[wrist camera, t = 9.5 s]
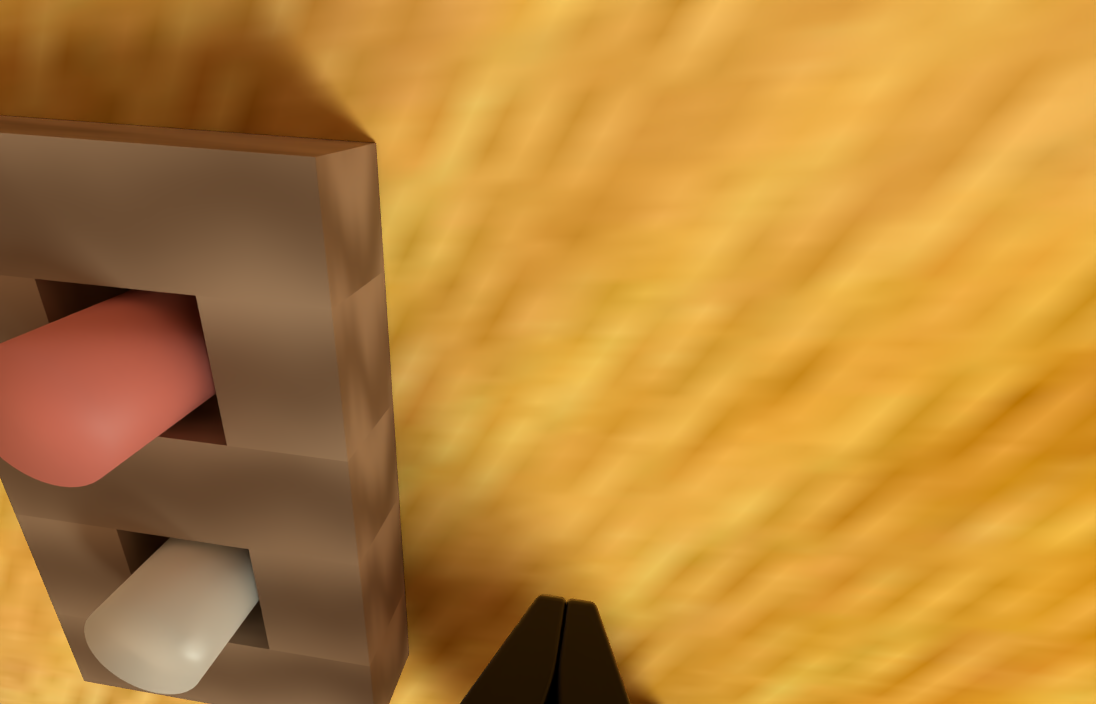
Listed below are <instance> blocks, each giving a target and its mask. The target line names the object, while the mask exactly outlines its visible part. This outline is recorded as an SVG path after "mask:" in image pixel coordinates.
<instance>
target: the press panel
mask: <svg viewBox="0 0 1096 704" xmlns="http://www.w3.org/2000/svg"><path fill="white" fill-rule="evenodd" d="M132 289H137V290H147V291H157V292H166V293H176V294H185V295H195V296H196V299H197V304H198V309H199V313H200V318H201V323H202V328H203V333H204V337H205V342H206V347H207V352H208V357H209V361H210V366H211V371H212V376H213V381H214V385H215V390H216V394H215V395H213V396H212V397H211V398H209V399H208V400H207V401H205V402H204V403H203V404H201V405H200V406H198V407H197V408H196V409H194V410H193V411H192V412H190V413H189V414H188V415H186V416H185V417H183V418H182V419H181V420H179V421H178V422H177V423H175V424H174V425H173V426H171V427H170V428H169V429H167V430H166V431H164V432H163V433H162V434H160V435H159V436H158V437H156V438H155V439H154V440H152V441H151V442H150V443H148V444H147V445H145V446H144V447H143V448H141V449H140V450H139V451H137V452H136V453H135V454H133V455H132V456H131V457H129V458H128V459H126V460H125V461H124V462H122V463H121V464H120V465H118V466H117V467H116V468H114V469H113V470H112V471H110V472H109V473H107V474H106V475H105V476H103V477H102V478H101V479H99V480H98V481H96V482H94V483H92V484H89V485H86V486H81V487H61V486H56V485H51V484H48V483H45V482H42V481H39V480H37V479H34V478H32V477H30V476H28V475H26V474H24V473H22V472H21V471H19V470H17V469H16V468H14V467H13V466H11V465H10V464H8V463H7V462H6V461H4V460H3V459H2V458H1V457H0V478H1V480H2V483H3V485H4V488H5V490H6V493H7V495H8V497H9V500H10V502H11V505H12V507H13V510H14V512H15V514H16V517H17V519H18V522H19V524H20V526H21V529H22V531H23V534H24V536H25V539H26V541H27V543H28V546H29V548H30V551H31V553H32V556H33V558H34V560H35V563H36V565H37V568H38V570H39V572H40V575H41V577H42V580H43V582H44V585H45V587H46V589H47V592H48V594H49V597H50V599H51V602H52V604H53V606H54V609H55V611H56V614H57V616H58V619H59V621H60V623H61V626H62V628H63V631H64V633H65V635H66V638H67V640H68V643H69V645H70V648H71V650H72V652H73V655H74V657H75V660H76V662H77V665H78V667H79V669H80V672H81V674H82V677H83V679H84V681H87V682H93V683H98V684H104V685H110V686H115V687H121V688H126V689H132V690H137V691H143V692H148V693H154V692H150V691H146V690H143V689H140V688H138V687H135V686H133V685H131V684H129V683H127V682H125V681H124V680H122V679H120V678H119V677H117V676H116V675H114V674H113V673H112V672H110V671H109V670H108V669H107V668H106V667H104V666H103V665H102V664H101V663H100V662H99V661H98V659H97V658H96V657H95V656H94V654H93V653H92V651H91V650H90V648H89V646H88V644H87V642H86V638H85V633H84V626H85V623H86V620H87V619H88V617H89V616H90V615H91V614H92V613H93V612H94V611H95V610H96V609H97V608H98V607H99V606H100V605H101V604H102V603H103V602H104V601H105V600H106V599H107V598H108V597H109V596H110V595H111V594H112V593H113V592H114V591H115V590H116V589H117V588H119V587H120V586H121V585H122V584H123V583H124V582H125V581H126V580H127V579H128V578H129V577H130V576H131V575H132V574H133V573H134V572H135V571H136V570H137V569H138V568H139V567H140V566H141V565H142V564H143V563H144V562H145V561H146V560H147V559H148V558H149V557H150V556H151V555H152V554H154V553H155V552H156V551H157V550H158V549H159V548H160V547H161V546H162V545H163V544H164V543H165V542H166V541H167V540H168V539H169V538H170V537H171V538H178V539H184V540H191V541H198V542H204V543H211V544H218V545H224V546H231V547H237V548H244V549H249V553H250V558H251V563H252V568H253V572H254V577H255V582H256V587H257V592H258V596H259V601H258V602H257V603H256V605H255V606H254V607H253V609H252V610H251V612H250V613H249V614H248V616H247V617H246V618H245V620H244V621H243V622H242V624H241V625H240V627H239V628H238V629H237V631H236V632H235V633H234V635H233V636H232V637H231V639H230V640H229V642H228V643H227V644H226V646H225V647H224V648H223V650H222V651H221V652H220V654H219V655H218V657H217V658H216V659H215V661H214V662H213V663H212V665H211V666H210V667H209V669H208V670H207V672H206V673H205V674H204V676H203V677H202V678H201V680H200V681H199V682H198V684H197V685H196V686H195V687H194V688H193V689H191V690H189V691H187V692H184V693H180V694H159V693H154V694H159V695H165V696H171V697H176V698H182V699H187V700H193V701H198V702H204V703H209V704H389V702H390V700H391V697H392V695H393V692H394V690H395V687H396V685H397V682H398V680H399V677H400V675H401V672H402V670H403V668H404V665H405V663H406V660H407V658H408V655H409V644H408V629H407V613H406V598H405V583H404V567H403V552H402V536H401V521H400V506H399V490H398V475H397V459H396V444H395V429H394V413H393V398H392V383H391V367H390V352H389V336H388V321H387V306H386V290H385V275H384V259H383V244H382V229H381V213H380V198H379V183H378V167H377V152H376V143H368V142H355V141H341V140H327V139H314V138H300V137H287V136H273V135H260V134H246V133H232V132H219V131H205V130H192V129H178V128H165V127H151V126H138V125H124V124H110V123H97V122H83V121H70V120H56V119H43V118H29V117H16V116H2V115H0V343H3V342H5V341H7V340H10V339H12V338H15V337H17V336H20V335H22V334H25V333H27V332H29V331H32V330H34V329H37V328H39V327H42V326H44V325H47V324H49V323H51V322H54V321H56V320H59V319H61V318H64V317H66V316H69V315H71V314H73V313H76V312H78V311H81V310H83V309H86V308H88V307H91V306H93V305H95V304H98V303H100V302H103V301H105V300H108V299H110V298H113V297H115V296H118V295H120V294H122V293H125V292H127V291H130V290H132Z"/></svg>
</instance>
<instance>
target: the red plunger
mask: <svg viewBox="0 0 1096 704" xmlns="http://www.w3.org/2000/svg"><path fill="white" fill-rule="evenodd" d="M215 394H216V390H215V385H214V381H213V376H212V371H211V366H210V361H209V357H208V352H207V347H206V342H205V337H204V333H203V328H202V323H201V318H200V313H199V309H198V304H197V299H196V296H195V295H185V294H176V293H166V292H157V291H147V290H137V289H132V290H130V291H127V292H125V293H122V294H120V295H118V296H115V297H113V298H110V299H108V300H105V301H103V302H100V303H98V304H95V305H93V306H91V307H88V308H86V309H83V310H81V311H78V312H76V313H73V314H71V315H69V316H66V317H64V318H61V319H59V320H56V321H54V322H51V323H49V324H47V325H44V326H42V327H39V328H37V329H34V330H32V331H29V332H27V333H25V334H22V335H20V336H17V337H15V338H12V339H10V340H7V341H5V342H3V343H0V457H1V458H2V459H3V460H4V461H6V462H7V463H8V464H10V465H11V466H13V467H14V468H16V469H17V470H19V471H21V472H22V473H24V474H26V475H28V476H30V477H32V478H34V479H37V480H39V481H42V482H45V483H48V484H51V485H56V486H61V487H81V486H86V485H89V484H92V483H94V482H96V481H98V480H99V479H101V478H102V477H103V476H105V475H106V474H107V473H109V472H110V471H112V470H113V469H114V468H116V467H117V466H118V465H120V464H121V463H122V462H124V461H125V460H126V459H128V458H129V457H131V456H132V455H133V454H135V453H136V452H137V451H139V450H140V449H141V448H143V447H144V446H145V445H147V444H148V443H150V442H151V441H152V440H154V439H155V438H156V437H158V436H159V435H160V434H162V433H163V432H164V431H166V430H167V429H169V428H170V427H171V426H173V425H174V424H175V423H177V422H178V421H179V420H181V419H182V418H183V417H185V416H186V415H188V414H189V413H190V412H192V411H193V410H194V409H196V408H197V407H198V406H200V405H201V404H203V403H204V402H205V401H207V400H208V399H209V398H211V397H212V396H213V395H215Z"/></svg>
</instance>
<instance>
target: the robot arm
mask: <svg viewBox="0 0 1096 704" xmlns="http://www.w3.org/2000/svg"><path fill="white" fill-rule="evenodd" d="M460 704H631V703H630V700H629V697H628V694H627V692H626V689H625V686H624V683H623V680H622V677H621V674H620V672H619V669H618V666H617V663H616V660H615V657H614V654H613V652H612V649H611V646H610V643H609V640H608V637H607V634H606V632H605V629H604V626H603V623H602V620H601V617H600V614H599V612H598V609H597V607H596V605H595V604H594V603H593V602H591V601H584V600H577V599H570V600H568V601H567V605H566V600H565V599H564V598H563V597H558V596H551V595H544V594H541V595H539V596H538V597H537V598H536V599H535V601H534V602H533V603H532V605H531V606H530V607H529V609H528V610H527V612H526V613H525V614H524V616H523V617H522V618H521V620H520V621H519V623H518V624H517V625H516V627H515V628H514V630H513V631H512V632H511V634H510V635H509V636H508V638H507V639H506V641H505V642H504V643H503V645H502V646H501V648H500V649H499V650H498V652H497V653H496V654H495V656H494V657H493V659H492V660H491V661H490V663H489V664H488V666H487V667H486V668H485V670H484V671H483V672H482V674H481V675H480V677H479V678H478V679H477V681H476V682H475V684H474V685H473V686H472V688H471V689H470V690H469V692H468V693H467V695H466V696H465V697H464V699H463V700H462V702H461V703H460Z"/></svg>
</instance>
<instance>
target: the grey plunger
mask: <svg viewBox="0 0 1096 704" xmlns="http://www.w3.org/2000/svg"><path fill="white" fill-rule="evenodd" d="M258 601H259V596H258V592H257V587H256V582H255V577H254V572H253V568H252V563H251V558H250V553H249V549H244V548H237V547H231V546H224V545H218V544H211V543H204V542H198V541H191V540H184V539H178V538H171V537H170V538H169V539H168V540H167V541H166V542H165V543H164V544H163V545H162V546H161V547H160V548H159V549H158V550H157V551H156V552H155V553H154V554H152V555H151V556H150V557H149V558H148V559H147V560H146V561H145V562H144V563H143V564H142V565H141V566H140V567H139V568H138V569H137V570H136V571H135V572H134V573H133V574H132V575H131V576H130V577H129V578H128V579H127V580H126V581H125V582H124V583H123V584H122V585H121V586H120V587H119V588H117V589H116V590H115V591H114V592H113V593H112V594H111V595H110V596H109V597H108V598H107V599H106V600H105V601H104V602H103V603H102V604H101V605H100V606H99V607H98V608H97V609H96V610H95V611H94V612H93V613H92V614H91V615H90V616H89V617H88V619H87V620H86V623H85V626H84V633H85V638H86V642H87V644H88V646H89V648H90V650H91V651H92V653H93V654H94V656H95V657H96V658H97V659H98V661H99V662H100V663H101V664H102V665H103V666H104V667H106V668H107V669H108V670H109V671H110V672H112V673H113V674H114V675H116V676H117V677H119V678H120V679H122V680H124V681H125V682H127V683H129V684H131V685H133V686H135V687H138V688H140V689H143V690H146V691H150V692H154V693H159V694H180V693H184V692H187V691H189V690H191V689H193V688H194V687H195V686H196V685H197V684H198V682H199V681H200V680H201V678H202V677H203V676H204V674H205V673H206V672H207V670H208V669H209V667H210V666H211V665H212V663H213V662H214V661H215V659H216V658H217V657H218V655H219V654H220V652H221V651H222V650H223V648H224V647H225V646H226V644H227V643H228V642H229V640H230V639H231V637H232V636H233V635H234V633H235V632H236V631H237V629H238V628H239V627H240V625H241V624H242V622H243V621H244V620H245V618H246V617H247V616H248V614H249V613H250V612H251V610H252V609H253V607H254V606H255V605H256V603H257V602H258Z"/></svg>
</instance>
